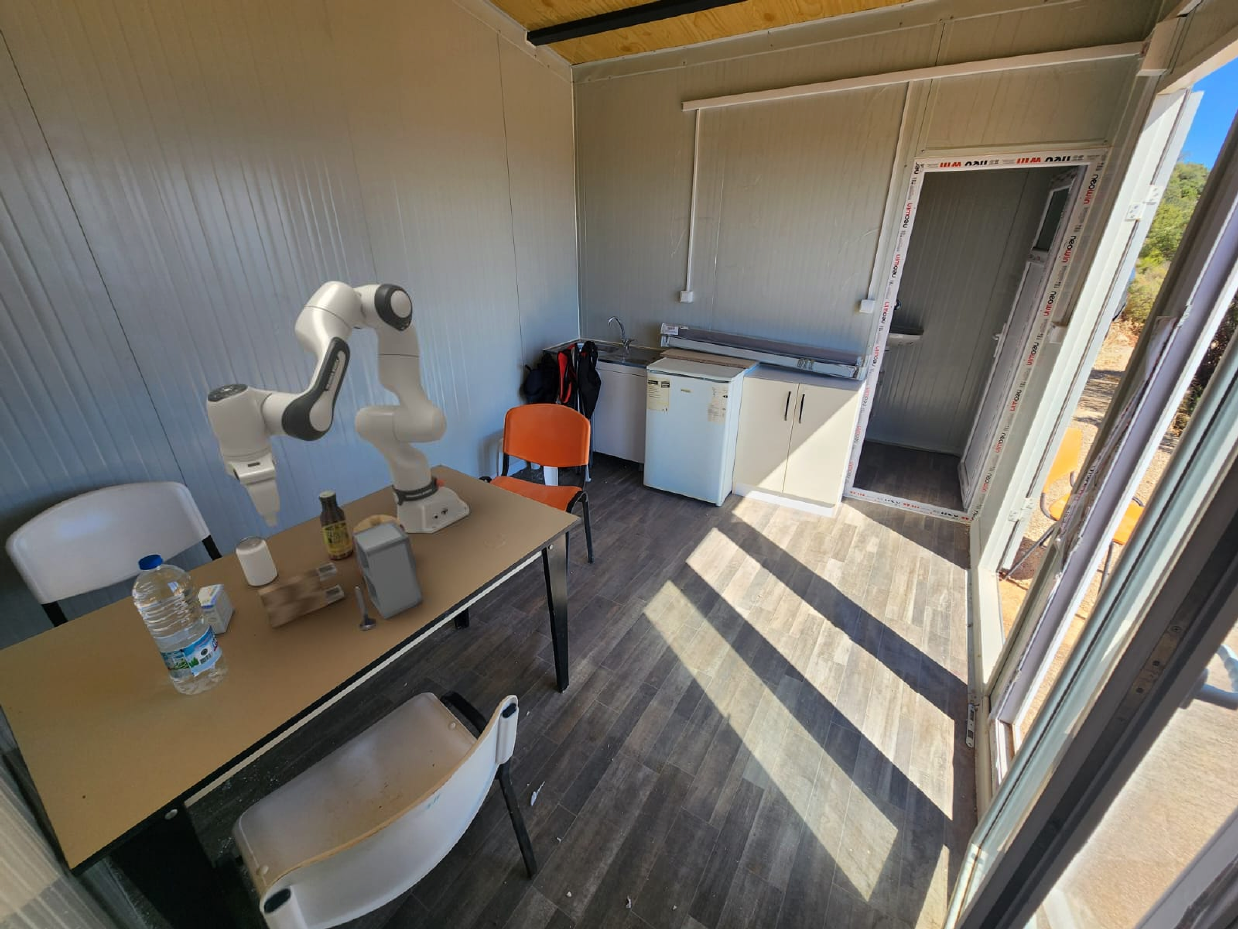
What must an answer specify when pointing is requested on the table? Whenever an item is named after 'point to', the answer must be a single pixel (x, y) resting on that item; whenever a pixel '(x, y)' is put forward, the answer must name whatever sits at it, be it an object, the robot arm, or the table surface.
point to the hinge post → (364, 612)
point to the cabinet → (388, 568)
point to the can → (256, 561)
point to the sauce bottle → (334, 527)
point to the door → (299, 595)
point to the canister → (372, 522)
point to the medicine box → (216, 606)
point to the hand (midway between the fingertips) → (268, 516)
